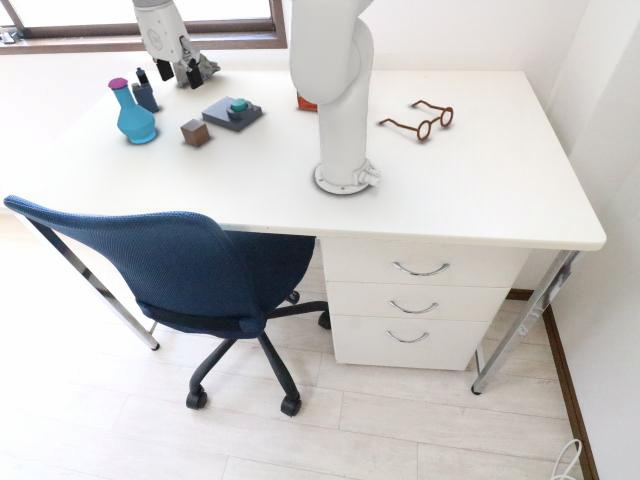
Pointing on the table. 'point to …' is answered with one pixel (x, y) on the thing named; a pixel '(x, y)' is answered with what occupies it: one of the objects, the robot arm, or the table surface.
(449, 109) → the glasses
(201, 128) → the block
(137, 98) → the vaping device
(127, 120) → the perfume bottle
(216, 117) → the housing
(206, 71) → the mineral rock
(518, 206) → the table surface
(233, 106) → the button
